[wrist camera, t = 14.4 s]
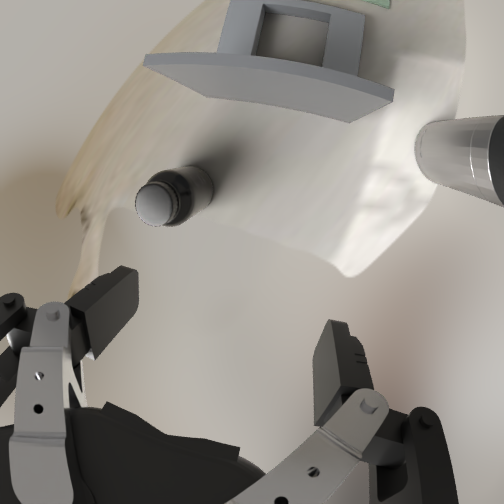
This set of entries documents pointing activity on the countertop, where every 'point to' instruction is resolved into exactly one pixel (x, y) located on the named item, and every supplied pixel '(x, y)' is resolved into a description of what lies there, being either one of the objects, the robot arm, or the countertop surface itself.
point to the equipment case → (281, 64)
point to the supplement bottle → (174, 196)
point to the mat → (380, 2)
